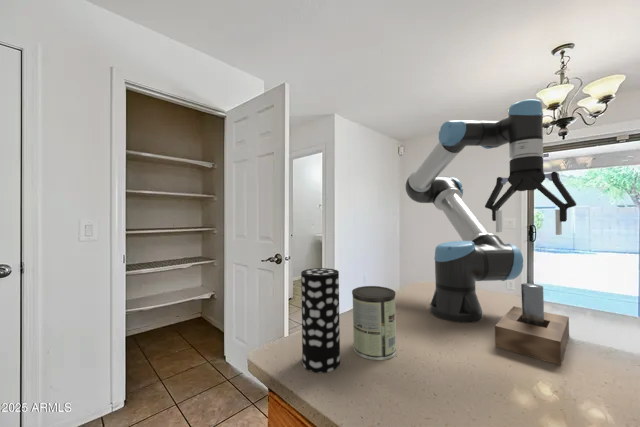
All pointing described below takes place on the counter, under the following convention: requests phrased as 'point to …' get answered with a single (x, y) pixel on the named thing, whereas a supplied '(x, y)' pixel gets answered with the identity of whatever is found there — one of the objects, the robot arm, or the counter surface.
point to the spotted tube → (320, 319)
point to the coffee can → (374, 322)
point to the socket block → (533, 336)
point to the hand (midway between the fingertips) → (526, 233)
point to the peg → (532, 304)
